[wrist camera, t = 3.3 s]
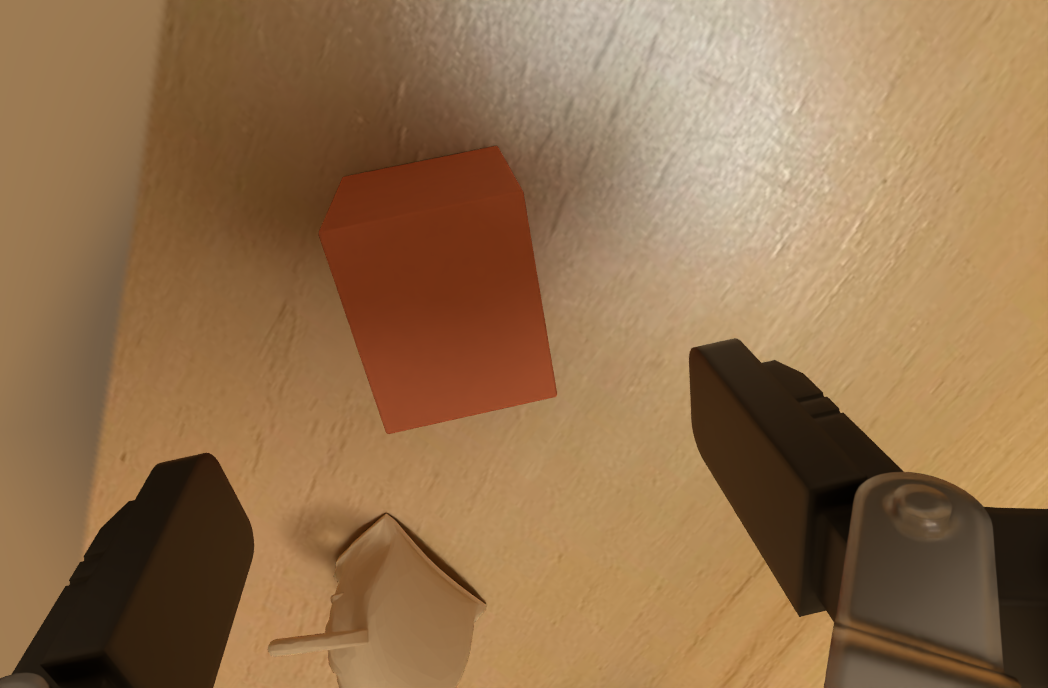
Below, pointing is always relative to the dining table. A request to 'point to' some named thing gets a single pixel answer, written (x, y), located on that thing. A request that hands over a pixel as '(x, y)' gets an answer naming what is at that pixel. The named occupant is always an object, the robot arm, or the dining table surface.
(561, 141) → the dining table surface
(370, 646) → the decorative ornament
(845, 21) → the dining table surface
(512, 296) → the orange block
